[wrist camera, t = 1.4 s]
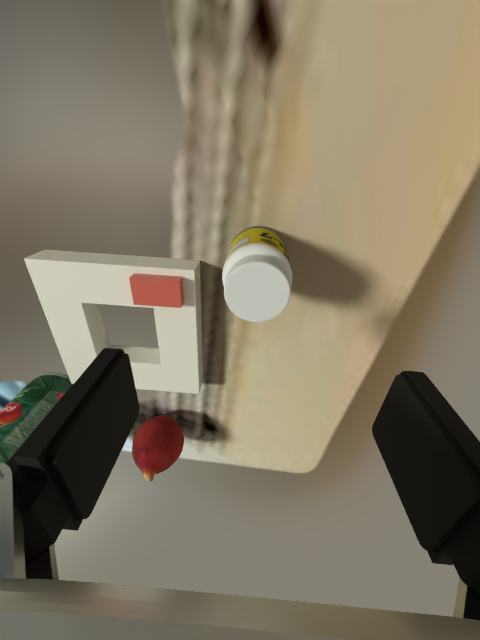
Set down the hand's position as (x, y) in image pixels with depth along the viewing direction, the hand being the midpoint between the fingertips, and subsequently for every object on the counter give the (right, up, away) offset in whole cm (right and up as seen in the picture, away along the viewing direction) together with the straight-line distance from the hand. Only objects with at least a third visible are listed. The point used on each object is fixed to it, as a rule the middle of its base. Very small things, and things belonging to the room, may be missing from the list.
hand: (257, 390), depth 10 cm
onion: (-10, -10, +25) cm, 29 cm away
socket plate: (-11, +2, +18) cm, 21 cm away
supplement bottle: (+1, +8, +14) cm, 16 cm away
